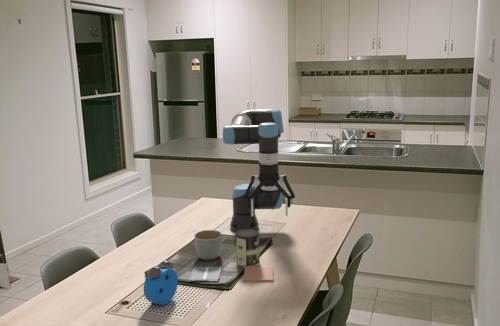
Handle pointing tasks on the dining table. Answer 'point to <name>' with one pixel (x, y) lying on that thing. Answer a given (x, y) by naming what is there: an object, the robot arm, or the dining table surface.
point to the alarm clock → (161, 284)
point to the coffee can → (247, 247)
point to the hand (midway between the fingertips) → (269, 215)
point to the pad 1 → (205, 273)
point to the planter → (208, 244)
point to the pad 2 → (258, 274)
